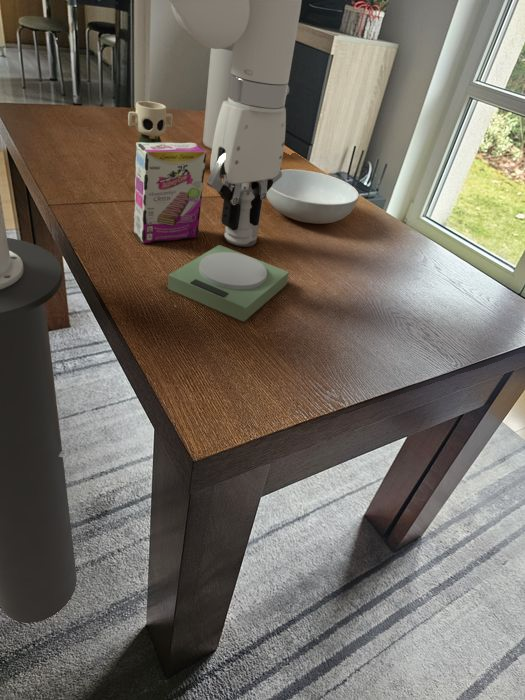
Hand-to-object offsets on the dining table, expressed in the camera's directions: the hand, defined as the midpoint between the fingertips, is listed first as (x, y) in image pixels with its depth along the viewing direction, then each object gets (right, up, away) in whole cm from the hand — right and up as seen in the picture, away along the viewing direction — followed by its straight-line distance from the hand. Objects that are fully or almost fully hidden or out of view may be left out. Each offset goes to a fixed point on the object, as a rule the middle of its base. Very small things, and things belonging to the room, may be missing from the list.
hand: (240, 223), depth 77 cm
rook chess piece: (0, -2, +2) cm, 3 cm away
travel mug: (-1, +2, +21) cm, 21 cm away
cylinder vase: (-8, +39, +69) cm, 80 cm away
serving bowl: (+13, +11, +37) cm, 41 cm away
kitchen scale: (-2, -9, +6) cm, 11 cm away
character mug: (-25, +28, +50) cm, 62 cm away
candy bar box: (-14, +2, +17) cm, 23 cm away
